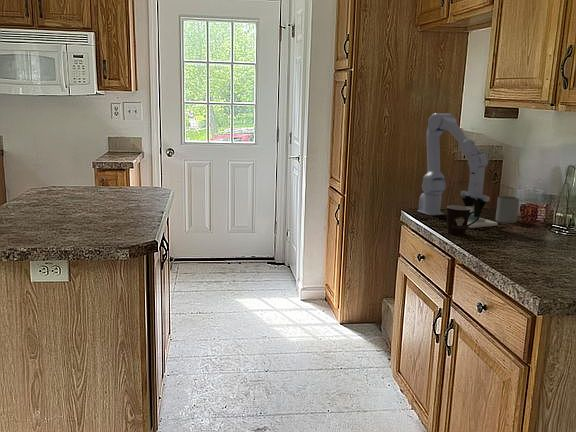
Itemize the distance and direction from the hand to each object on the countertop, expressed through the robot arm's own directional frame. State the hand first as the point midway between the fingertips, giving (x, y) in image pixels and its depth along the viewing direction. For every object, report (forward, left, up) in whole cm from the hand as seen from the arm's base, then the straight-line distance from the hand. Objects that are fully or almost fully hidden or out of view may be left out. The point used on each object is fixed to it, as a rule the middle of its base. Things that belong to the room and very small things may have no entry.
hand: (472, 215), depth 233 cm
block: (0, 0, -2) cm, 2 cm away
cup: (+1, +18, -3) cm, 18 cm away
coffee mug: (+14, -19, -3) cm, 24 cm away
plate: (0, 0, -3) cm, 3 cm away
